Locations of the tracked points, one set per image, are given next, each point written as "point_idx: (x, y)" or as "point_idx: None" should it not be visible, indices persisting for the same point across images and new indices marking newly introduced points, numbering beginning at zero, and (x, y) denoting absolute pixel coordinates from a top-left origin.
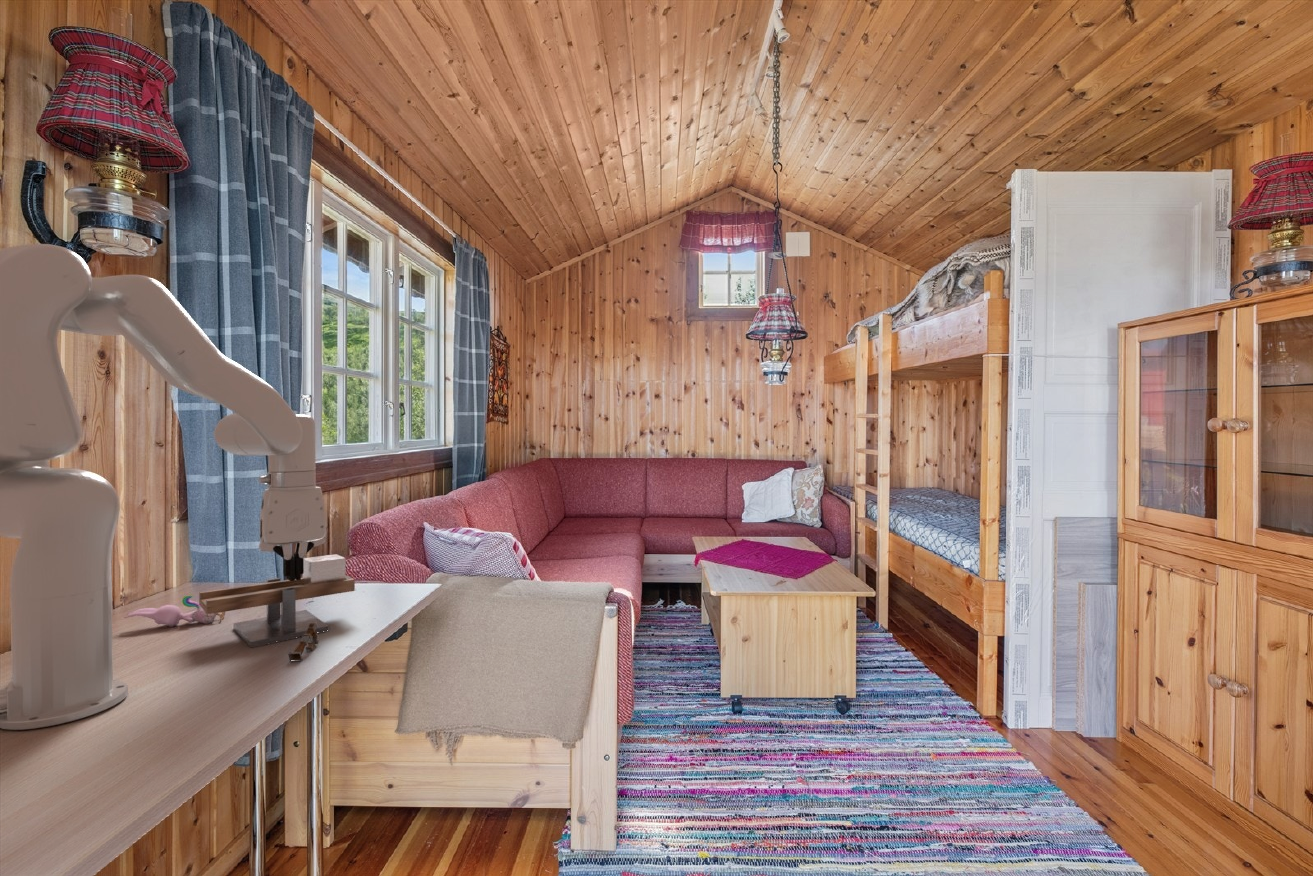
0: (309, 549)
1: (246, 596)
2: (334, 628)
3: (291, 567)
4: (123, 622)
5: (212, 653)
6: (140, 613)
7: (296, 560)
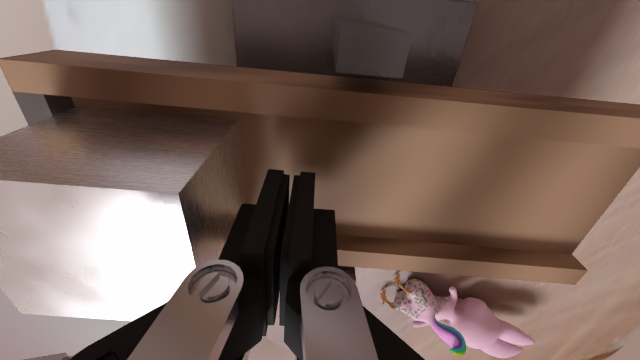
0: (133, 329)
1: (544, 109)
2: (212, 4)
3: (310, 216)
4: (484, 354)
5: (546, 46)
6: (525, 337)
7: (270, 250)
